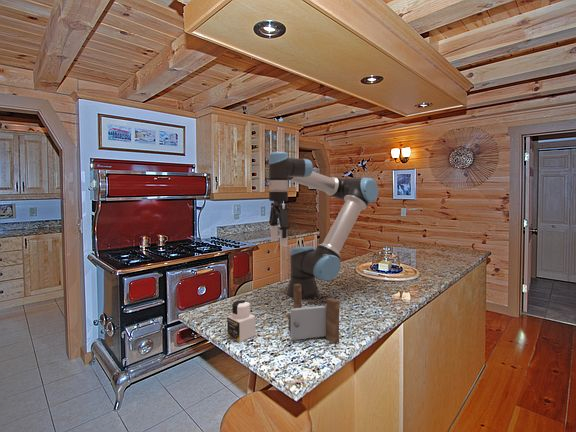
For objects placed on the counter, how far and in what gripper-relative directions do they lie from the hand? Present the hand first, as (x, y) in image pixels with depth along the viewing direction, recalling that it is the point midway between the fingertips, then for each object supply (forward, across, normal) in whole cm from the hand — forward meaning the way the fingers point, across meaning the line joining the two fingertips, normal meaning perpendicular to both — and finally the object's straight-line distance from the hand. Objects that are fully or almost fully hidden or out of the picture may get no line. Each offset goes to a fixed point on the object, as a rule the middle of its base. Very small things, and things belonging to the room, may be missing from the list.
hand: (278, 243), depth 131 cm
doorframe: (+29, +21, +8) cm, 36 cm away
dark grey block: (+29, +20, +2) cm, 35 cm away
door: (+28, +27, +3) cm, 39 cm away
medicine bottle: (+29, +16, -18) cm, 38 cm away
